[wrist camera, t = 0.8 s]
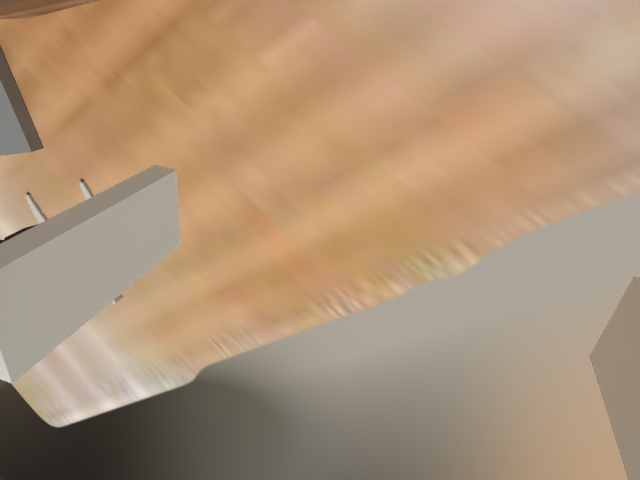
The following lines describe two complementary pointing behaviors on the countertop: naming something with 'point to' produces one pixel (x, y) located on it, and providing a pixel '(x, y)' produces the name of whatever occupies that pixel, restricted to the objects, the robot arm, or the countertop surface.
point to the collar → (35, 7)
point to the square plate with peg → (14, 116)
